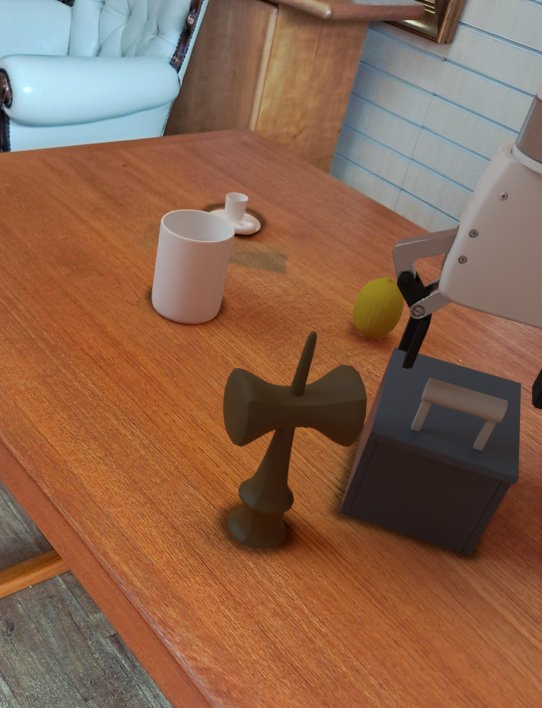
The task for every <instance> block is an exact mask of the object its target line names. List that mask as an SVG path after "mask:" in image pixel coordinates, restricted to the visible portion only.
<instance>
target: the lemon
mask: <svg viewBox="0 0 542 708" xmlns="http://www.w3.org/2000/svg"><path fill="white" fill-rule="evenodd" d="M404 305H405V299H404V297H403V296H402V294H401V292H400V290H399V288H398V286H397V281H395V280H393V278H392V277H390V276H385V277H377V278H373V279H371V280H370V281H368V282H367V283H366V284H364V286H363V287H362V288H361V290H360V291H359V292H358V294H357V296H356V298H355V301H354V304H353V309H352V321H353V324H354V327H355V328H356V330H357V331H358V332H359V333H360V334H362V335H363V336H364V338H365V339H366V340H372V339H376V338H382V337H385V336H387V335H388V334H390V333H391V332H392V331H393V330H394V329H395V328H396V326H397V325H398V324H399V322H400V320H401V318H402V315H403V311H404Z"/></svg>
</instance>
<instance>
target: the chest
mask: <svg viewBox="0 0 542 708" xmlns="http://www.w3.org/2000/svg"><path fill="white" fill-rule="evenodd" d="M390 358H391V356H390V357H389V360H388V362H387V365H386V368H385V370H384V373H383V376H382V378H381V381H380V383H379V386H378V389H377V392H376V394H375V397H374V399H373V402H372V405H371V408H370V410H369V413H368V415H367V419H366V420H365V422H364V425H363V429H362V431H361V436H360V439H359V443H358V445H357V449H356V454H355V457H354V460H353V463H352V467H351V471H350V474H349V477H348V481H347V485H346V488H345V491H344V495H343V499H342V502H341V505H340V509H339V513H340V514H342V515H346V516H349V517H352V518H355V519H357V520H361V521H363V522H366V523H370V524H373V525H375V526H378V527H381V528H385V529H387V530H391V531H394V532H397V533H399V534H403V535H406V536H409V537H412V538H414V539H418V540H421V541H424V542H427V543H430V544H433V545H436V546H438V547H442V548H444V549H447V550H451V551H454V552H456V553H460V554H463V555H465V556H469V557H470V556H472V555H473V552H474V551H475V549H476V548H477V545H478V544H479V542H480V541H481V539H482V537H483V535H484V533H485V532H486V530H487V528H488V526H489V525H490V523H491V522H492V519H493V517H494V515H495V514H496V512H497V511H498V509H499V507H500V505H501V503H502V501H503V500H504V498H505V497H506V495H507V493H508V491H509V489H510V488H511V486H512V484H509V483H506V482H503V481H500V480H496V479H493V478H490V477H487V476H484V475H481V474H477V473H474V472H471V471H468V470H465V469H461V468H458V467H455V466H452V465H449V464H445V463H442V462H439V461H436V460H433V459H430V458H426V457H423V456H420V455H417V454H414V453H410V452H407V451H404V450H401V449H398V448H394V447H391V446H388V445H385V444H382V443H378V442H375V441H372V440H369V439H368V438H369V434H370V431H371V427H372V424H373V420H374V416H375V413H376V409H377V405H378V402H379V398H380V394H381V391H382V387H383V384H384V380H385V376H386V373H387V369H388V365H389V362H390Z"/></svg>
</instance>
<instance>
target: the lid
mask: <svg viewBox="0 0 542 708" xmlns="http://www.w3.org/2000/svg"><path fill="white" fill-rule="evenodd" d="M398 347H399V346H393V349H392V351H391V355H390V357H391V358H390V357H389V359H390V362H389V361H388V362H389V365H388V364H387V365H388V369H387V373H386V376H385V380H384V384H383V387H382V391H381V394H380V398H379V402H378V405H377V409H376V413H375V416H374V420H373V424H372V427H371V431H370V434H369V438H368V439H369V440H372V441H375V442H378V443H382V444H385V445H388V446H391V447H394V448H398V449H401V450H404V451H407V452H410V453H414V454H417V455H420V456H423V457H426V458H430V459H433V460H436V461H439V462H442V463H445V464H449V465H452V466H455V467H458V468H461V469H465V470H468V471H471V472H474V473H477V474H481V475H484V476H487V477H490V478H493V479H496V480H500V481H503V482H506V483H509V484H511V486H512V485H513V486H515V485H516V484H517V482H518V480H519V479H520V478H519V477H520V447H521V446H520V443H521V439H520V437H521V405H522V404H521V403H522V402H521V401H522V399H521V398H522V383H521V382H518V381H515V380H512V379H508V378H505V377H501V376H497V375H495V374H491V373H487V372H484V371H480V370H477V369H473V368H470V367H468V366H464V365H460V364H457V363H453V362H450V361H446V360H443V359H439V358H436V357H433V356H429V355H426V354H423V353H418V355H417V358H416V360H415V362H414V365H413V367H412V368H409V369H406V368H402V365H403V361H404V357H405V353H406V352H405V351H401V350H398Z"/></svg>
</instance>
